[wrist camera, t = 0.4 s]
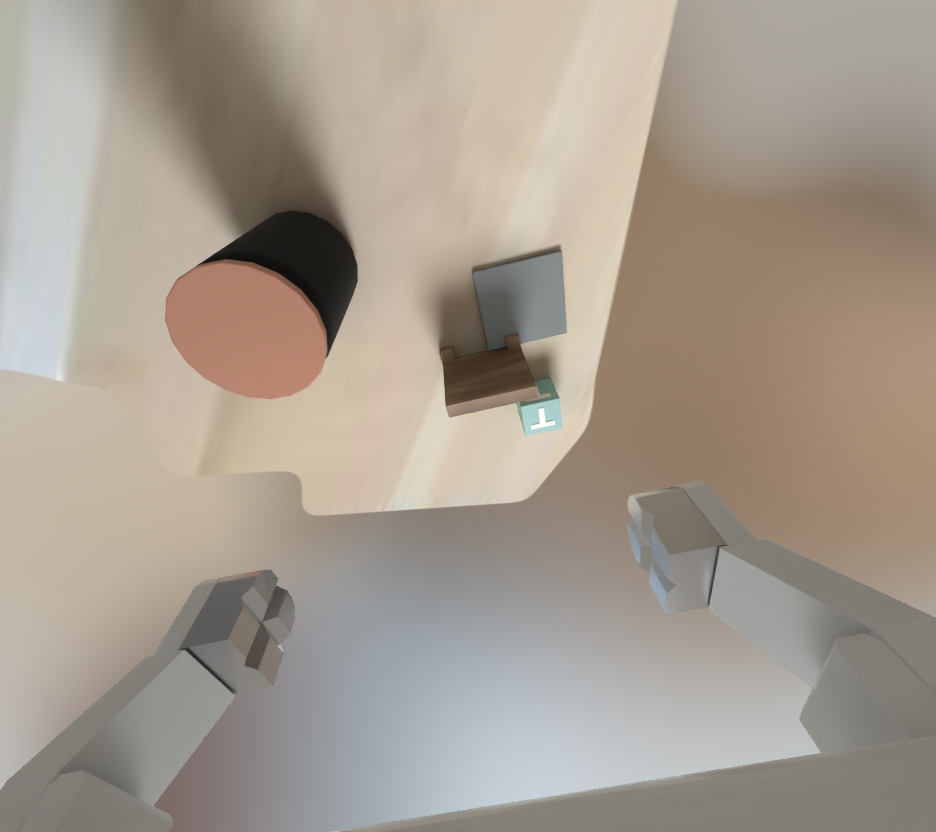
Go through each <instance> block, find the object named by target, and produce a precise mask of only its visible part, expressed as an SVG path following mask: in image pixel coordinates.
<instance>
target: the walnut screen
mask: <svg viewBox="0 0 936 832" xmlns="http://www.w3.org/2000/svg"><path fill="white" fill-rule="evenodd" d="M505 337H506V343H507V347H503V348H499V349H495V350H490V351H484V352H479V353H475V354H471V355H466V356H462V357H458V358H455V356H454V353H453V349H452V347H448V348H444V349H440V356H441V360H442V363H443V370H444V386H445V402H446V409H447V412H448V415H449V417H454V416H458V415H463V414H467V413H472V412H476V411H481V410H486V409H490V408H495V407H499V406H504V405H508V404H513V403H517V402H522V401H526V400H531V399H535V398H538V397H537V389H536V385H535V382H534V380H533V377H532V375H531V372H530V370H529V367H528V365H527V362H526V360H525V357H524V355H523V352H522V350H521V346H520V339H519V334H518V333H517V334H512V335H508V336H505Z"/></svg>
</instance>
